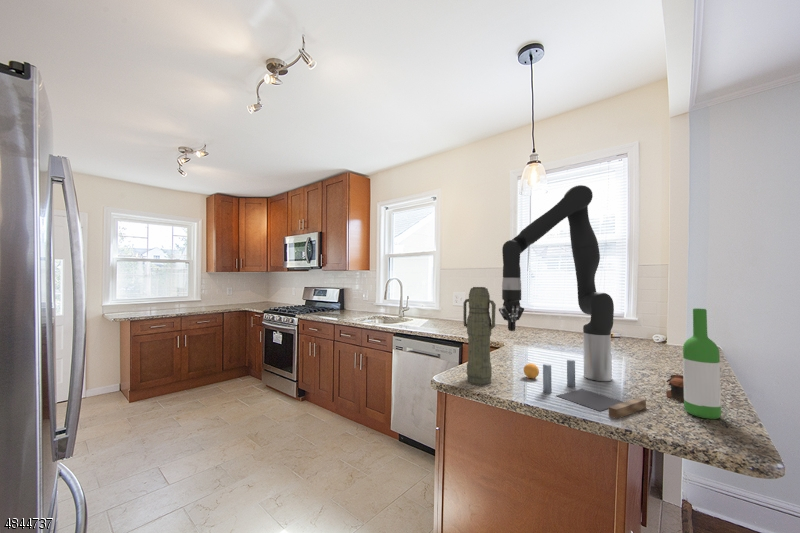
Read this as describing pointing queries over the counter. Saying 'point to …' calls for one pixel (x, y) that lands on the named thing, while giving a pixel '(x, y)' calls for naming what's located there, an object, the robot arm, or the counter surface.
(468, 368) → the thermos
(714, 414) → the wine bottle
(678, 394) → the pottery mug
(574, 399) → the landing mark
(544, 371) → the post
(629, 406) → the wall
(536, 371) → the ball
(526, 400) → the counter surface
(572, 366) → the post
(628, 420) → the counter surface
